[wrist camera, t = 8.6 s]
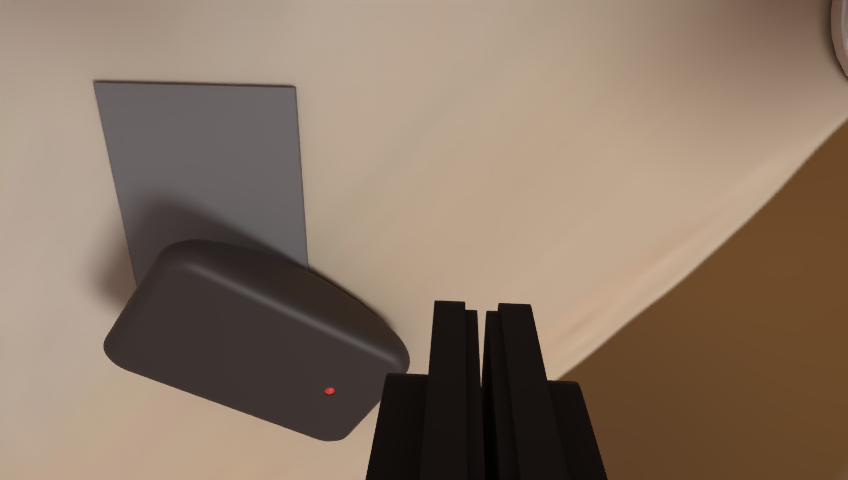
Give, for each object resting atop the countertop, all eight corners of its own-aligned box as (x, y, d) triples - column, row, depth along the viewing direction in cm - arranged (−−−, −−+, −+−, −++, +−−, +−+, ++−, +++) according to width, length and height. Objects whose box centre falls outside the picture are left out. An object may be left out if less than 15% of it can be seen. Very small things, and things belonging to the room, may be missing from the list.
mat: (295, 86, 31) (294, 88, 30) (312, 331, 37) (311, 335, 37) (97, 81, 31) (93, 83, 30) (148, 327, 37) (146, 330, 37)
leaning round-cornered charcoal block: (185, 201, 31) (115, 314, 35) (165, 245, 28) (88, 366, 31) (412, 318, 38) (336, 402, 41) (422, 365, 34) (337, 454, 38)
